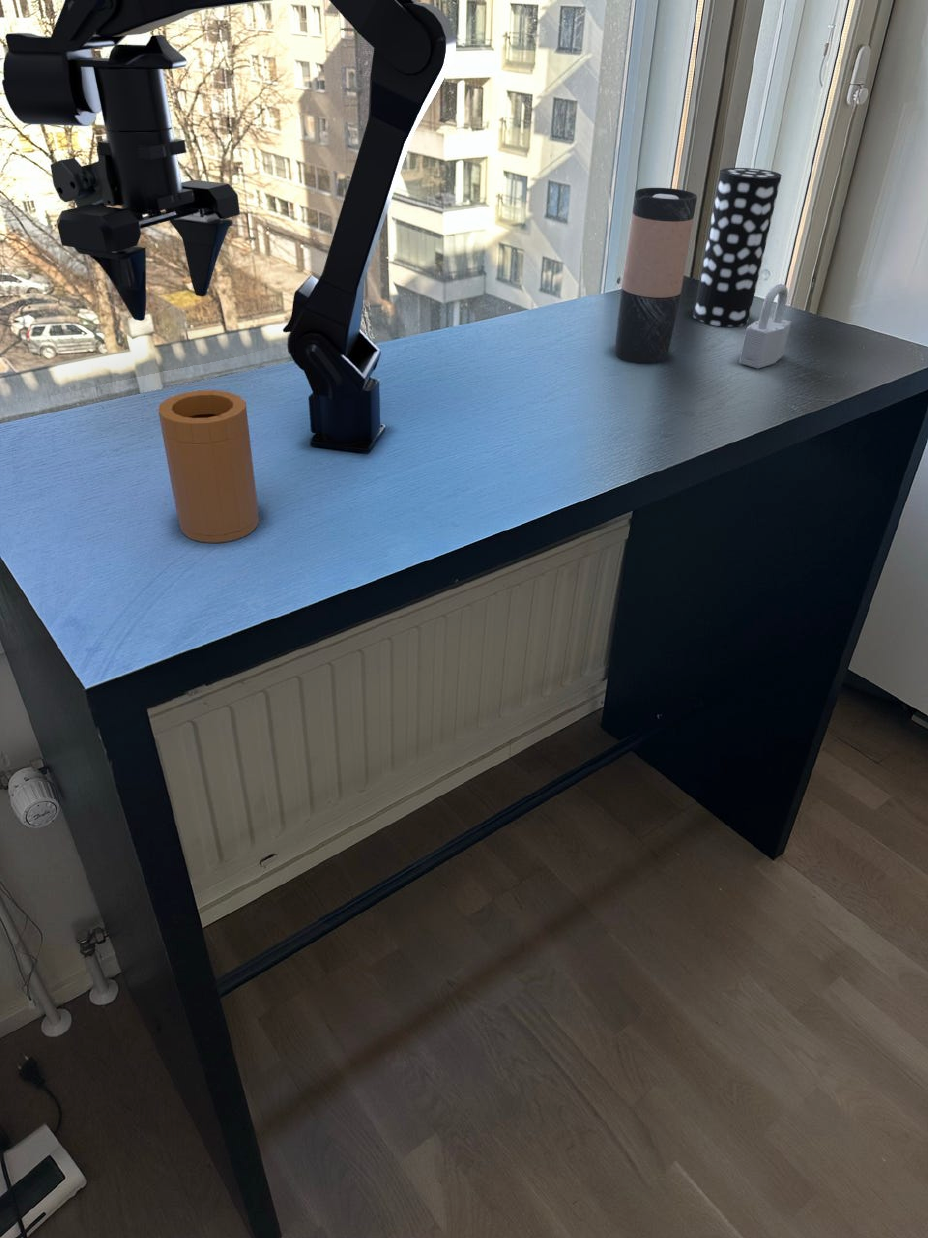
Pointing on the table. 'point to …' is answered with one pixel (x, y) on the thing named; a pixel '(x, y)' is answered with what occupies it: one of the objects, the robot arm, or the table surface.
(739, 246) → the white-spotted black cylinder
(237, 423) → the jar
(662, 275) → the travel mug
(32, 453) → the table surface
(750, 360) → the padlock
